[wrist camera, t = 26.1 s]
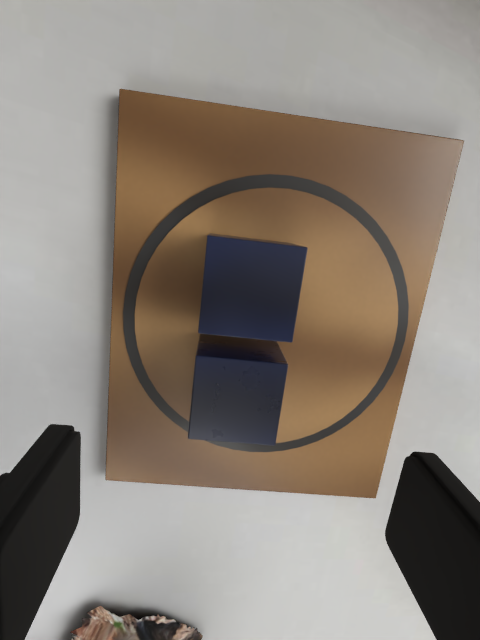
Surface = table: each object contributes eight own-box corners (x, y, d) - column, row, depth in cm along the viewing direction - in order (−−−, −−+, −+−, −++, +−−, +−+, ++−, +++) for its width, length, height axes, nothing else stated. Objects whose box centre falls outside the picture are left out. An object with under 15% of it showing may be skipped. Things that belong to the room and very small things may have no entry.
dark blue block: (199, 331, 19) (195, 355, 16) (276, 339, 19) (289, 364, 16) (192, 403, 20) (187, 439, 16) (266, 409, 20) (275, 446, 17)
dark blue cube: (209, 233, 18) (207, 234, 14) (291, 243, 18) (308, 247, 15) (201, 313, 19) (197, 333, 15) (279, 321, 19) (292, 343, 16)
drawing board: (123, 94, 17) (117, 86, 16) (454, 143, 18) (467, 139, 17) (109, 471, 22) (104, 482, 21) (370, 489, 23) (377, 501, 22)
